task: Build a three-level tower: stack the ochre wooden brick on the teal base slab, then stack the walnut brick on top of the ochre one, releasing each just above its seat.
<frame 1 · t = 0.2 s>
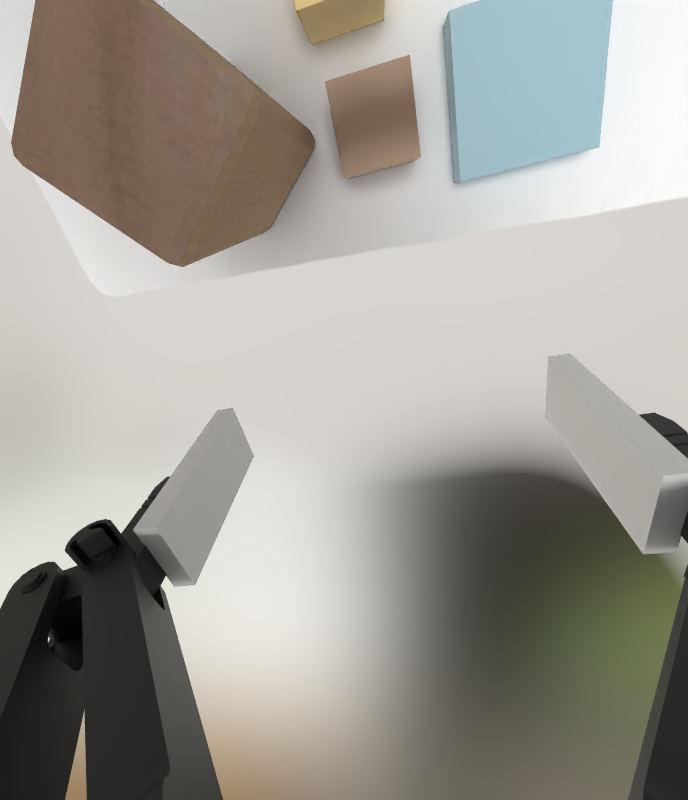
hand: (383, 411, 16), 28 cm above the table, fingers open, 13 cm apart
base brick: (516, 91, 31), on the table
brick b: (375, 132, 33), on the table
wooden block: (248, 155, 35), on the table
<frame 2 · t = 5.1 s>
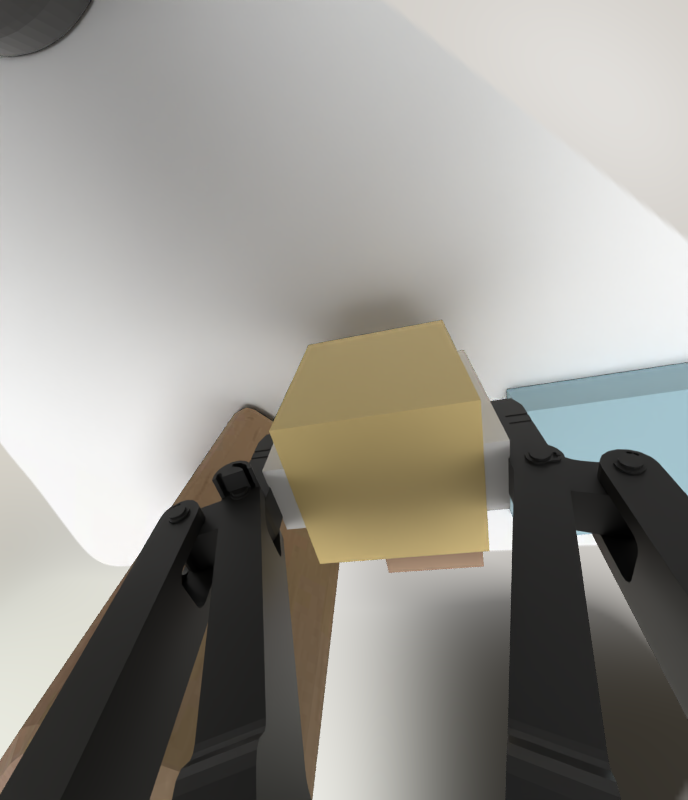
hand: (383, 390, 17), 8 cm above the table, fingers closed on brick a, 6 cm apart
base brick: (589, 445, 26), on the table
brick a: (384, 391, 18), point 7 cm above the table, touching gripper
brick b: (419, 464, 29), on the table
wooden block: (270, 471, 30), on the table
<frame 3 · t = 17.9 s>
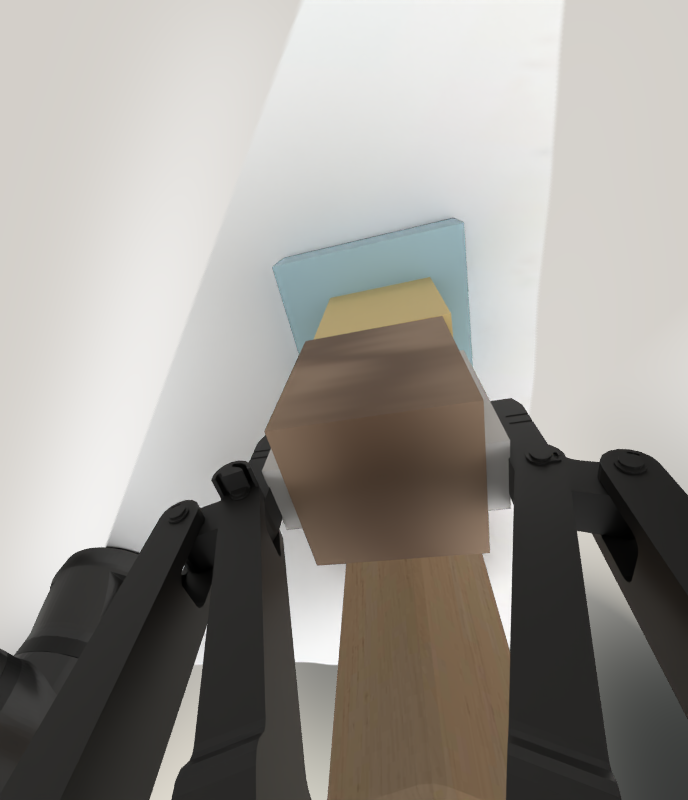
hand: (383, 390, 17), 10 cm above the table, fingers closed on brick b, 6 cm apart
base brick: (380, 321, 26), on the table
brick a: (387, 334, 23), point 3 cm above the table, touching base brick, brick b, gripper
brick b: (383, 388, 17), point 10 cm above the table, touching brick a, gripper
wooden block: (411, 544, 38), on the table
when the fingers open (10 cm above the table, at t = 18.2 s): brick b stays where it is, resting on brick a.
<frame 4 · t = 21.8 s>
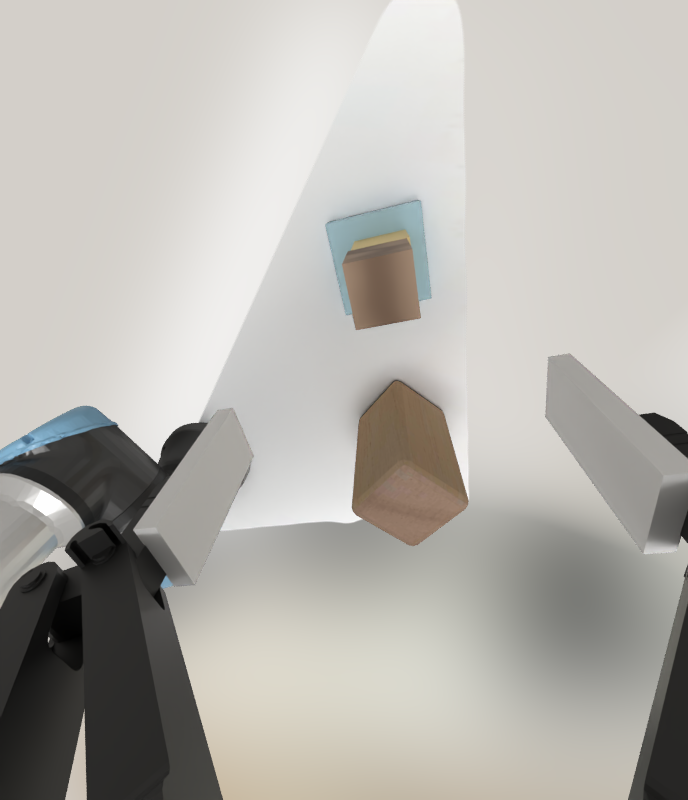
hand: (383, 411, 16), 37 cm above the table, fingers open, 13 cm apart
base brick: (380, 258, 47), on the table
brick a: (383, 261, 44), point 3 cm above the table, touching base brick, brick b
brick b: (381, 274, 39), point 10 cm above the table, touching brick a
wooden block: (400, 414, 59), on the table
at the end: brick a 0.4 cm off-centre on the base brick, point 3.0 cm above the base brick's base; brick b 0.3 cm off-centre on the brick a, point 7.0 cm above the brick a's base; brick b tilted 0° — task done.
